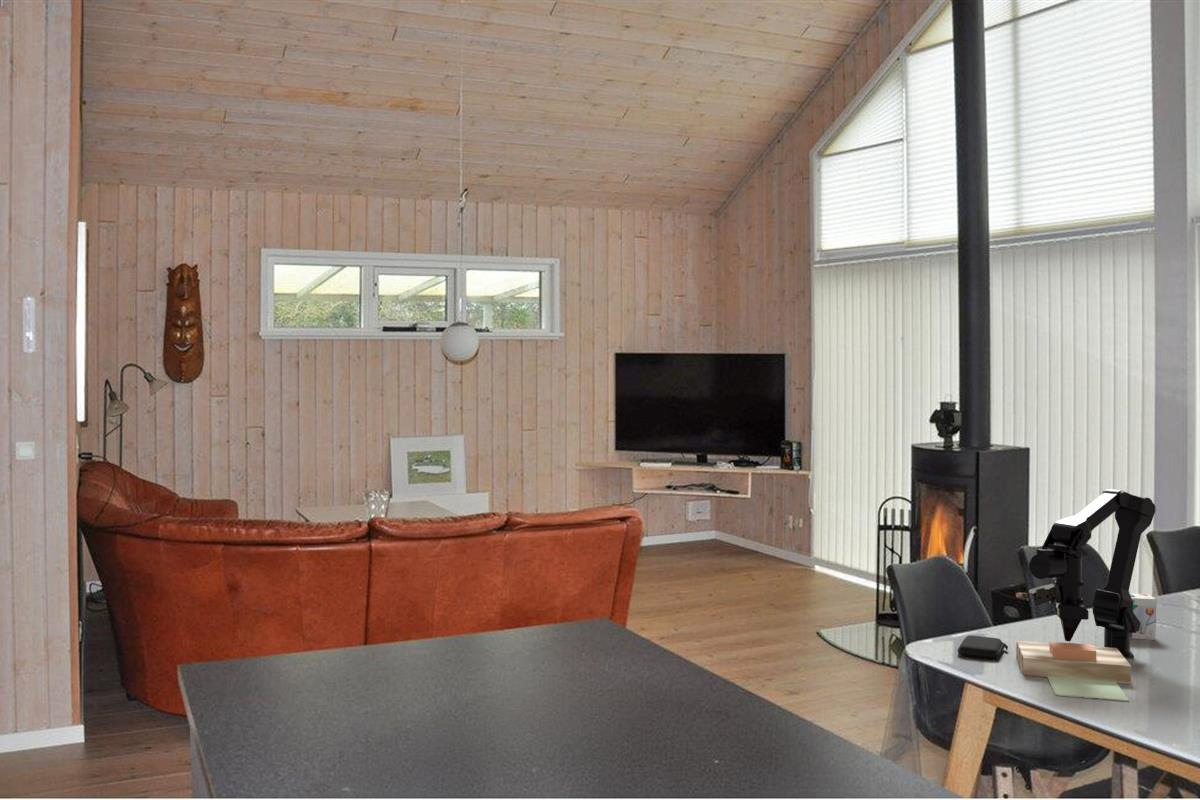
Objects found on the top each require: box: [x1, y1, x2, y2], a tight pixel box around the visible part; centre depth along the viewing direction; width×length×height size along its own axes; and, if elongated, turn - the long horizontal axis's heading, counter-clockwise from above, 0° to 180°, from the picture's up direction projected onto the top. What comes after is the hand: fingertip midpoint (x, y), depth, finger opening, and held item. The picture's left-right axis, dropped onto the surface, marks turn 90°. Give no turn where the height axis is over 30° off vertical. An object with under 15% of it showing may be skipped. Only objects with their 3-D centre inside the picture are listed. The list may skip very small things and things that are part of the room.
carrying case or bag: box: [957, 634, 1009, 661], centre depth 251 cm, size 11×3×15 cm
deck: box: [1015, 640, 1132, 685], centre depth 236 cm, size 16×22×4 cm
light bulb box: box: [1129, 592, 1158, 641], centre depth 269 cm, size 11×7×11 cm, turn 80°
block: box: [1049, 641, 1096, 660], centre depth 234 cm, size 6×9×2 cm, turn 73°
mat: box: [1046, 676, 1130, 703], centre depth 222 cm, size 14×14×1 cm
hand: (1067, 641), depth 242 cm, fingers closed
